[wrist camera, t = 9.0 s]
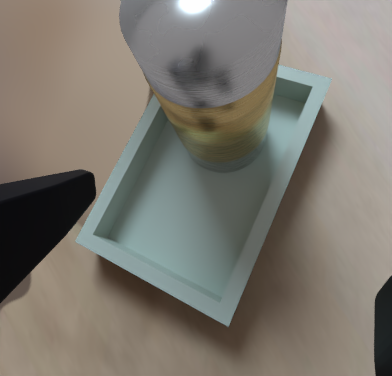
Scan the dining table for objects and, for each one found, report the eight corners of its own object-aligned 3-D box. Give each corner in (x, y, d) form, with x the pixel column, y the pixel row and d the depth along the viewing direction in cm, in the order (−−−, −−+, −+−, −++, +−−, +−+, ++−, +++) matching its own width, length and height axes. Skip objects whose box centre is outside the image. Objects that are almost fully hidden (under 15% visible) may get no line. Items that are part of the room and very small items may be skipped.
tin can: (272, 168, 20) (304, 54, 9) (185, 177, 22) (116, 86, 10) (261, 91, 22) (276, -86, 11) (182, 103, 23) (119, -46, 12)
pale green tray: (231, 316, 19) (228, 327, 16) (97, 243, 22) (74, 241, 20) (321, 102, 22) (332, 78, 19) (190, 64, 25) (183, 39, 22)
